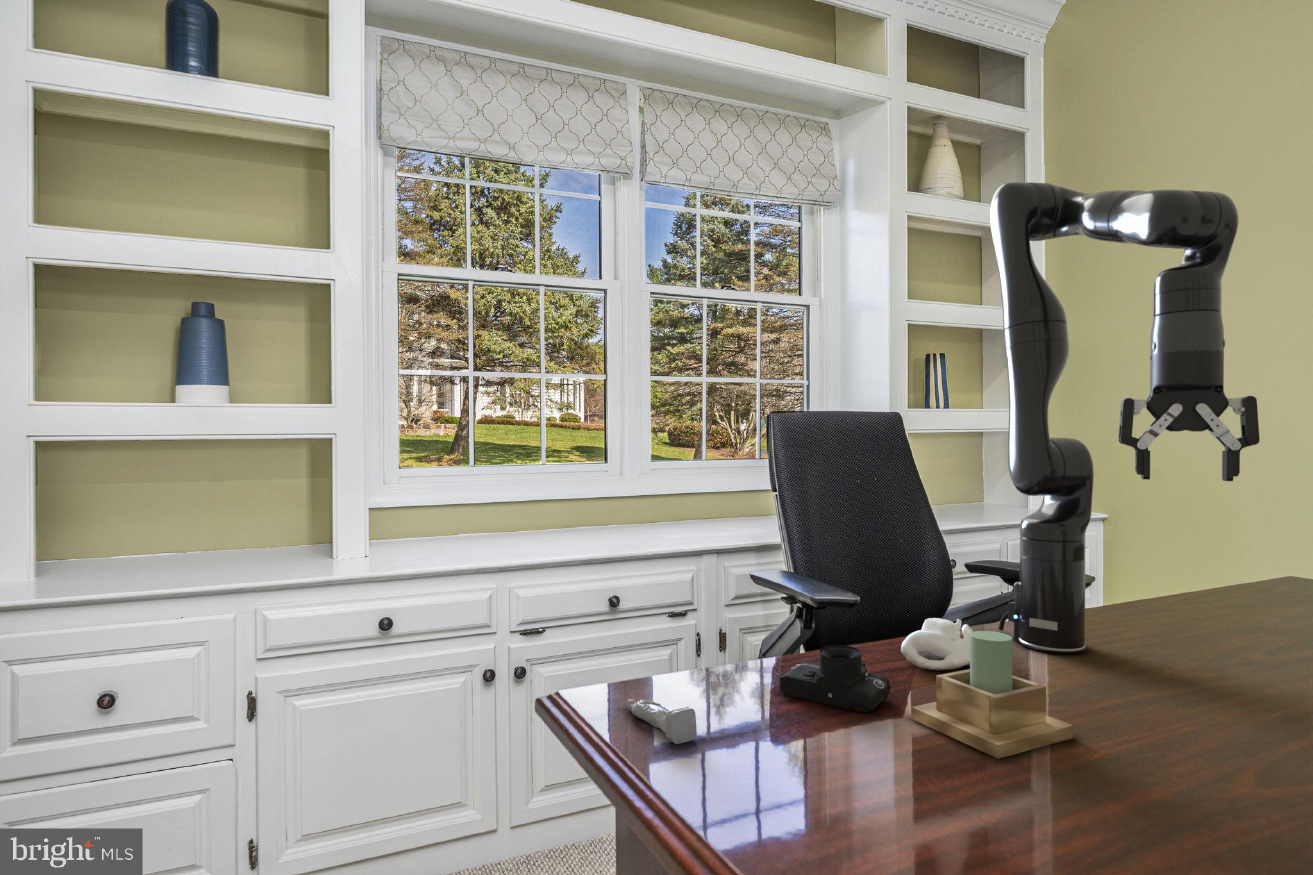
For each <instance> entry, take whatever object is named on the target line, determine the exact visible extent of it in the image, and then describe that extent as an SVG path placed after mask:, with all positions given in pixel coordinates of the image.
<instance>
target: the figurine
mask: <svg viewBox="0 0 1313 875" xmlns="http://www.w3.org/2000/svg"><path fill="white" fill-rule="evenodd" d="M626 707H627V709H629V710H630V712H631V713H632V715H633V716H634V717H637V718H638V719H640V720H642V721H644V722H646V723H648V724H649V725H651V726H653V727H655V728H659V729H660V730H661V731H662V732H663V733H665V737H666V739H667V740H668V741H669V742H671V743H674V745H679V744H683V743H688V742H691V741H694V740H695V739H696V738H697V736H698V732H697V715H696V711H695V709H694V708H691V707H689V706H684V707H679V708H674V709H671V710H669V709H668V708H666V706H664V705H662V704H661V703H658V702H656V701H653V700H645V699H640V700H639V701H636V699H633V698H629V699H627V700H626Z"/></svg>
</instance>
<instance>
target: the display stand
mask: <svg viewBox="0 0 1313 875" xmlns="http://www.w3.org/2000/svg"><path fill="white" fill-rule="evenodd" d="M935 678H936V679H935V684H936V685H935V701H934V702H933V701H932V702H928V703H924V704H919V705H915V706H912V707H911V720H912V721H915V722H916V723H919V724H921V725H924V726H926V727H928V728H930V729H932V730H934V731H937V732H939V733H941V734H943V735H945V736H948V737H950V738H952V739H954V740H956V741H958V742H960V743H963V744H965V745H967V746H969V747H971V748H973V749H975V750H978V751H980V752H982V753H985V754H987V755H989V756H991V757H993V758H994V759H998V760H999V759H1002V758H1006V757H1010V756H1014V755H1017V754H1021V753H1025V752H1028V751H1032V750H1035V749H1036V750H1037V749H1039V748H1042V747H1046V746H1050V745H1054V744H1057V743H1061V742H1064V741H1068V740H1072V739H1074V725H1073V724H1071V723H1068V722H1065V721H1063V720H1060V719H1057V718H1054V717H1052V716H1049V715H1047V686H1046V685H1043V684H1039V683H1037V682H1034V681H1032V680H1028V679H1025V678H1022V677H1018V676H1016V675H1013V674H1012V691H1009V692H1004V693H999V694H995V695H994V694H992V693H989V692H987V691H984V690H981V689H978V688H976V687H973V686H970V668H969V669H964V670H958V671H951V672H948V673H943V674H937V675H936V677H935Z"/></svg>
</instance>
